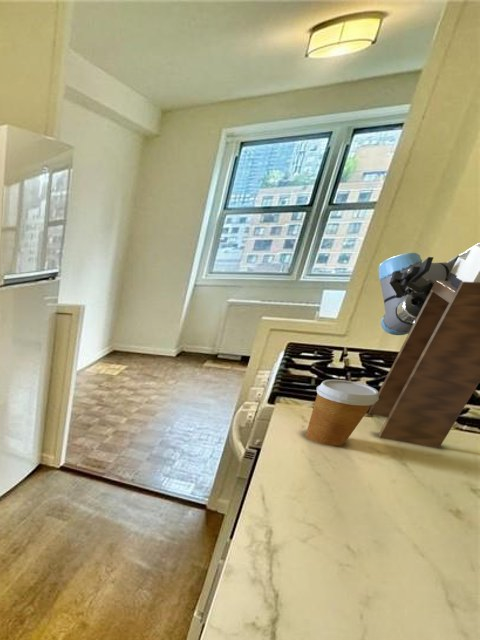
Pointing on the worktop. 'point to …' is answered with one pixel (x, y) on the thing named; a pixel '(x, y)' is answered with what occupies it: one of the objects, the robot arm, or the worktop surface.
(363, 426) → the worktop surface
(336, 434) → the disposable coffee cup
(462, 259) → the white block dark base
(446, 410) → the tall wooden cabinet
